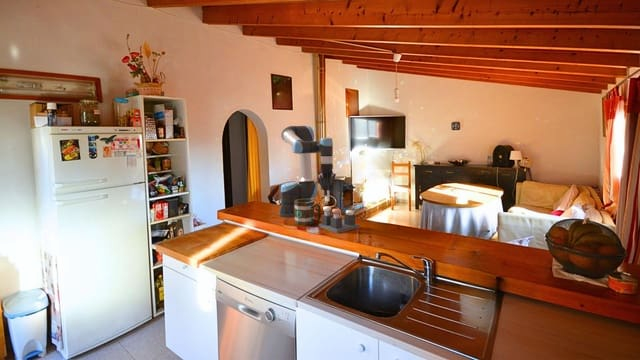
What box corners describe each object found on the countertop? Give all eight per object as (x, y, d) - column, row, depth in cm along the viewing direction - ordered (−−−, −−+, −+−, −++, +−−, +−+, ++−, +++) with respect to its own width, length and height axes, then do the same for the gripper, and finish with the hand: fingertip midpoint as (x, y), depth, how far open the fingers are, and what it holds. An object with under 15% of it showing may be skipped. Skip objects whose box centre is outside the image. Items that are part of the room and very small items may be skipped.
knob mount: (318, 226, 220) (318, 214, 219) (339, 222, 231) (339, 210, 230) (336, 233, 206) (336, 220, 205) (358, 227, 217) (358, 215, 216)
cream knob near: (321, 219, 218) (321, 207, 217) (327, 218, 221) (327, 205, 220) (326, 221, 214) (326, 208, 213) (332, 219, 217) (332, 207, 216)
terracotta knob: (330, 222, 211) (330, 209, 210) (336, 221, 214) (336, 208, 213) (336, 224, 207) (335, 210, 206) (342, 222, 210) (342, 209, 209)
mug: (290, 223, 228) (289, 201, 226) (302, 219, 239) (302, 198, 237) (314, 228, 217) (313, 204, 215) (326, 223, 228) (326, 201, 225)
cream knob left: (344, 223, 218) (344, 210, 217) (350, 222, 221) (350, 209, 220) (349, 224, 214) (349, 212, 213) (355, 223, 217) (355, 211, 216)
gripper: (322, 164, 206) (322, 203, 209) (338, 162, 214) (339, 200, 217) (314, 163, 212) (315, 201, 215) (331, 162, 220) (331, 198, 223)
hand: (327, 200), depth 216 cm, fingers closed
